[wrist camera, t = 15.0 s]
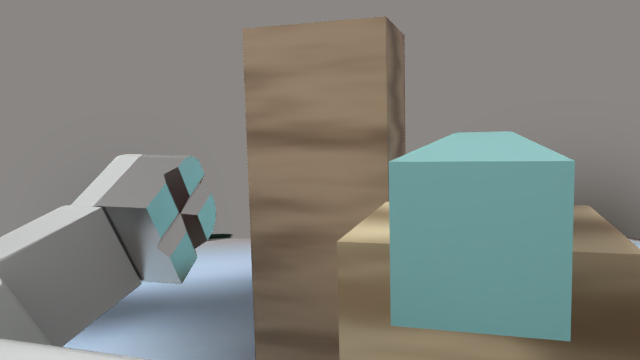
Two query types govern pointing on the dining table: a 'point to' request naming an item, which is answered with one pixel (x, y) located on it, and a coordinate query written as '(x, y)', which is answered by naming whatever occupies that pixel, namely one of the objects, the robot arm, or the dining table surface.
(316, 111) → the stand
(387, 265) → the pedestal
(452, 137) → the bar
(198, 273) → the dining table surface
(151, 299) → the dining table surface
